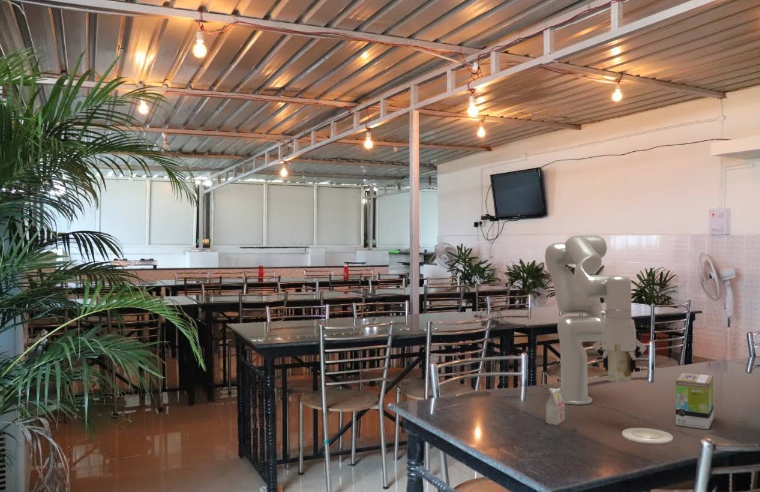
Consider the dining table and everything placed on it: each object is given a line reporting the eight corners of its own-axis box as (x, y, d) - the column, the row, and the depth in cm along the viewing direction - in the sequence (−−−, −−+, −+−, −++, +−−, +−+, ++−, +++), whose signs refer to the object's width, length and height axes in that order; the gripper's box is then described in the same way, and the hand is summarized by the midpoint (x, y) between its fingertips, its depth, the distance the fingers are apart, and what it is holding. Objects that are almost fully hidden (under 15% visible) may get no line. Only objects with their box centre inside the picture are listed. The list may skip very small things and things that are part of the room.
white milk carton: (546, 423, 203) (545, 392, 203) (554, 418, 209) (553, 388, 209) (557, 425, 201) (556, 394, 201) (564, 420, 206) (564, 390, 206)
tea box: (710, 430, 194) (709, 382, 194) (674, 425, 199) (674, 379, 199) (714, 419, 207) (713, 374, 207) (680, 415, 212) (679, 371, 212)
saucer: (620, 440, 184) (619, 437, 184) (624, 428, 196) (624, 425, 196) (672, 446, 178) (672, 443, 178) (673, 433, 190) (673, 430, 190)
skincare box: (618, 383, 196) (617, 344, 196) (607, 380, 200) (606, 342, 200) (632, 381, 199) (631, 342, 199) (621, 378, 203) (620, 341, 203)
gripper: (588, 315, 200) (589, 371, 200) (647, 317, 192) (648, 375, 192) (591, 313, 207) (592, 367, 207) (649, 314, 199) (649, 371, 199)
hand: (619, 370), depth 199 cm, fingers closed on skincare box, 6 cm apart
